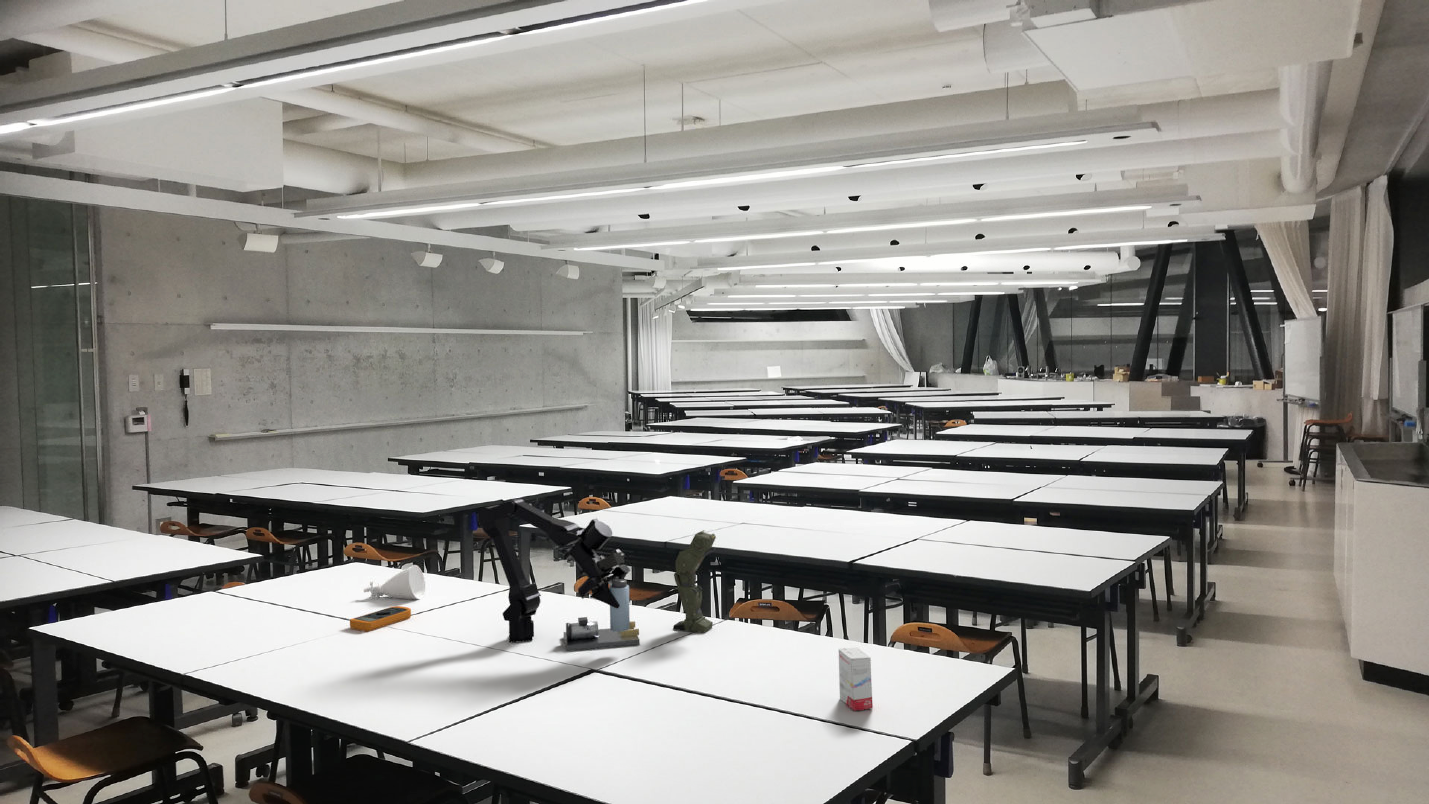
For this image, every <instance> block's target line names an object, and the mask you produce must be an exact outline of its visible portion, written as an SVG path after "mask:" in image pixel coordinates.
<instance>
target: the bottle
mask: <svg viewBox="0 0 1429 804" xmlns="http://www.w3.org/2000/svg"><path fill="white" fill-rule="evenodd" d="M627 581H628V580H627V579H625V578H624V579H616V580H612V585H611V586H610V585H609V588H610V591H611V593H612V594H613V596H614V597H615V599H616V600H617V602H618V603H619V605H620V607H619V608H614V607H612V606H610V605H609V626H610V627H609V629H610V630H612V631H626V630H629V629H630V622H631V620H630V619H631V617H630V602H629V598H630V585H629V584H627Z"/></svg>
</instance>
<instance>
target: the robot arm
mask: <svg viewBox="0 0 1429 804" xmlns="http://www.w3.org/2000/svg"><path fill="white" fill-rule="evenodd" d="M512 516H515V517H517V518H519V519H520V520H522V521H523V522H526V523H527V524H529V525H531V526H533V527H535V528H537V529H538V530H541V531H542V532H543V533H544V534H545V535H546V536H547V538H548V540H550V541H551V542H552V543H553V544H555V545H556V546H558V547H561V548H563V547H567V546H569V545H571V546H570V547H569V548H566V549H564V554H563V560H564V561H565V560H569V559H573V561H574V563H576V564H577V566H578V567H579V568H580V570H579V573H580V575H581V576H584V575H585V576H586V577H587V578H586V579H585V581H583V583H582V584H581V585H580V586H579V587H578V588H577V593H578V595H579V597H580V598H581V599H582V600H583V599H585V598H588V597H589V598H590V599H594V600H597V601H599V602H601V603H604V604H606V605H608V606H609V607H610V606H612V607H614V608H619V607H620V605H619V603H618V602H617V600H616V599H615V597H614V596H613V594H612V593H611V591H610V586H611V585H612V580H616V579H624V580H625V578H626V576H627V574H629V572H630V571H631V569H630V568H629V567H628V565H627V564H624V563H625V560H624V559H625V553H624V552H622V551H621V550H620V549H619V548H617V549H615V550H613V551H611V555H608V556H606V557H605V556H604V555H598V554H597V552H595V551H598V550H601V548H602V547H603V546H604V545H605V543H607V542H608V540H610V538H611V537H612V536H613V530H612V528H611V527H610V526H609V525H607V524H606V523H604V522H603V521H600V520H599V519H598V518H597V517H595V518H592V519H591V520H590V521H589V523H588V525H587V526H586V527H580V526H579V525H578V524H577V523H575V522H573V521H572V522H571V521H570V520H565V519H561V518H555V517H553V516H551V515H550V514H548V513H547V512H544V511H543V510H540V509H538V508H537V507H535V506H533V505H531V504H529V503H528V502H526V501H525V500H524V499H522V498H519V497H518V498H514V499H509V500H508V501H505V502H504V503H501V504H496V505H491V506H488V507H483V508H482V509H480V510H479V513H478V515H477V521H478V523H479V526H480V527H481V529H482V531H483V533H485V534H486V535H487V536H488V537H489V538H490V539H491V540H492V543H493V545H494V548H495V551H496V554H497V556H498V559H499V561H500V565H501V567H502V570H503V572H504V575H505V579H506V580H507V583H508V586H509V590H508V597H507V598H508V601H509V606H508V607H507V608H506V609H505V610H504V611H503V612H502V616H503V619H504V621H506V622H508V633H509V634H508V643H522V642H532V641H533V638H534V637H535V630H534V629H535V626H534V625H535V623H534V620H532V616H535V615H536V613H537V610H538V608H539V607H540V604H541V597H542V595H541V593H540V592H539V590H538V585H537V584H536V582H533V583H530V581H528V579H527V578H526V576H525V573H524V569H523V567H522V564H521V562H520V559H519V556H518V553H517V551H516V549H515V547H514V546H515V545H514V543H513V541H512V538H511V535H510V533H509V532H510V524H511V522H510V521H511V520H510V517H512ZM579 540H580V541H579ZM590 592H591V593H592V594H591V595H590ZM629 603H631V599H630V597H629Z"/></svg>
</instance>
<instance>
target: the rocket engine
mask: <svg viewBox="0 0 1429 804" xmlns="http://www.w3.org/2000/svg"><path fill="white" fill-rule="evenodd" d="M369 592H370V593H371V594H370V600H375V601H376V600H377V599H379V598H380V597H383V596H388V597H390V598H397V599H405V600H421V599H423V597H424V596H425V593H426V581H425V577H424V573H423V571H422V570H421V568H420V567H419V565H416V564H413V565H411V566H410V567H406V568H405V569H403V570H401V571H399V572H398V573H397V574H395V575H394V576H392V577H390V578H389V579H387V580H386V581H385V582H384V583H377V584H376V583H375V582H374V581H370V583H369V586H368V587H366V588H363V593H369Z"/></svg>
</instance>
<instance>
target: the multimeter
mask: <svg viewBox="0 0 1429 804" xmlns="http://www.w3.org/2000/svg"><path fill="white" fill-rule="evenodd" d="M411 617H412V609H411V608H410V607H406V606H401V605H397V606H396V605H395V606H389V607H387V608H383V609H380V610H377V611H374V612H369V613H367V614H363V615H360V616H357V617H353V618H350V619H349V626H350V629H351V630H356V631H360V632H365V633H368V632H372V631H375V630H378V629H380V628H381V629H382V628H383V627H386V626H390V625H392V624H397V623H400V622H402V621H406V620H409V619H410V618H411Z"/></svg>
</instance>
